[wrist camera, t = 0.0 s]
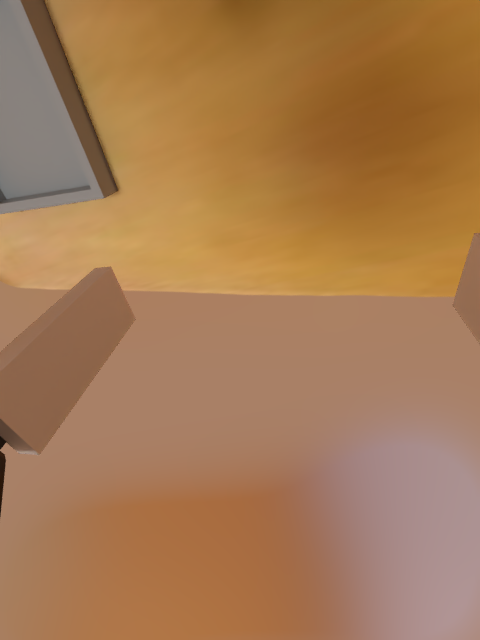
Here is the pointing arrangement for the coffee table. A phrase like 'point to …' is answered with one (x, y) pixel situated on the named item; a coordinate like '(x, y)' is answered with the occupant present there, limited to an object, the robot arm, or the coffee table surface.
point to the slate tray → (43, 118)
